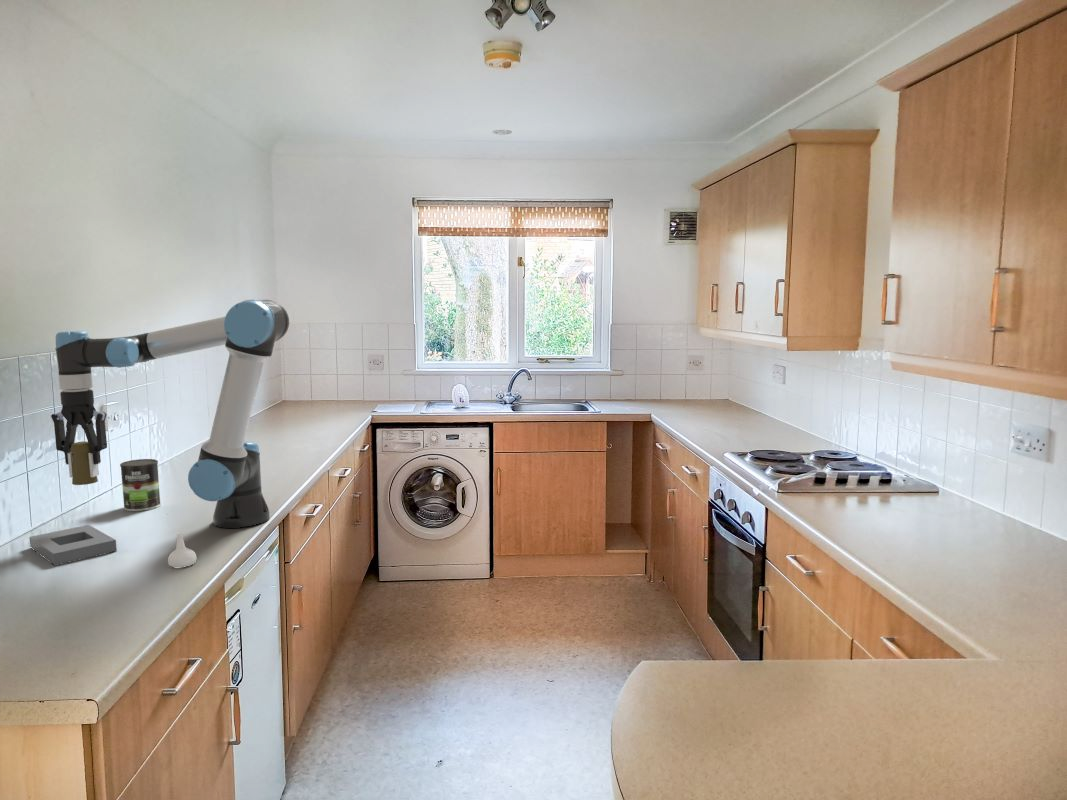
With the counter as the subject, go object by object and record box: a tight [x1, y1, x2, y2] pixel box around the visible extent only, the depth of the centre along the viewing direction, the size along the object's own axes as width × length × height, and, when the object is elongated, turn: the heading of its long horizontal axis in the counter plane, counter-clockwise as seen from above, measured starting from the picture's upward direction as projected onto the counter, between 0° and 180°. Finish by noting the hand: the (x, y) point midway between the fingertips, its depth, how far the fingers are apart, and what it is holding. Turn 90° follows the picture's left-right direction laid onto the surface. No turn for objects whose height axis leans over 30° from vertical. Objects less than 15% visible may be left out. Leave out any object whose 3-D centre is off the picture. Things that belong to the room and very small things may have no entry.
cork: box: [71, 440, 99, 486], centre depth 208 cm, size 6×6×11 cm
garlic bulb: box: [167, 532, 197, 568], centre depth 187 cm, size 6×6×8 cm
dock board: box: [29, 524, 118, 566], centre depth 199 cm, size 20×14×3 cm
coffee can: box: [119, 458, 162, 512], centre depth 238 cm, size 10×10×14 cm
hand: (84, 475), depth 208 cm, fingers closed on cork, 5 cm apart
